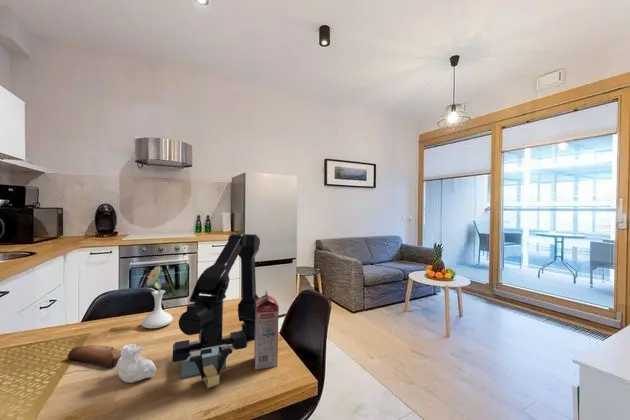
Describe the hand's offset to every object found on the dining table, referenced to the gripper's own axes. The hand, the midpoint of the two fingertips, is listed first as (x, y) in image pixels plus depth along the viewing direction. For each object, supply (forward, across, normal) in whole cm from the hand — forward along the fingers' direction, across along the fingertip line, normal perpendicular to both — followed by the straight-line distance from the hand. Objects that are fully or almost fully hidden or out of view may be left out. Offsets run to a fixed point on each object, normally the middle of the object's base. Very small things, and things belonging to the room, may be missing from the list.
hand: (210, 376), depth 74 cm
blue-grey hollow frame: (+2, +1, -12) cm, 12 cm away
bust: (+2, +19, -11) cm, 22 cm away
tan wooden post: (+1, 0, 0) cm, 1 cm away
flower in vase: (+2, +16, -49) cm, 52 cm away
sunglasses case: (+3, +30, -28) cm, 41 cm away
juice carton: (+2, -17, -4) cm, 18 cm away
